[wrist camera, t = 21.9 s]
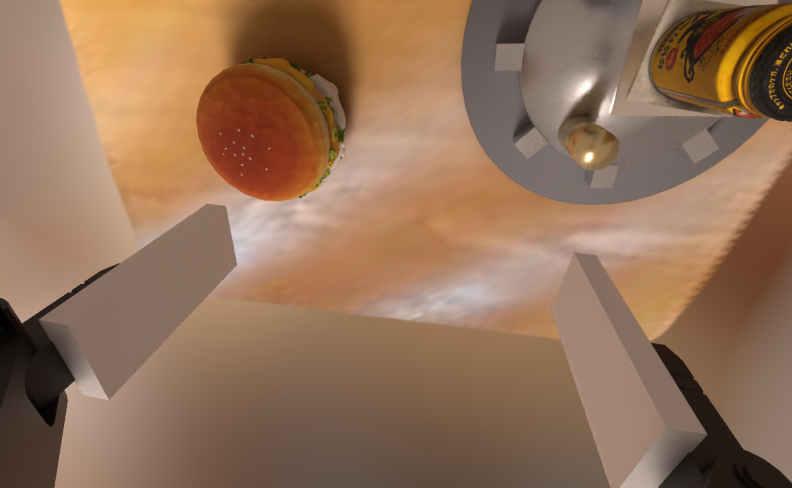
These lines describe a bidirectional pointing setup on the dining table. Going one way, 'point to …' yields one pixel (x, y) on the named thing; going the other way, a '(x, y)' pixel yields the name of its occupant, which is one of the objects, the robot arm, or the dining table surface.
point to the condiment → (720, 60)
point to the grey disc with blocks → (598, 87)
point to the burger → (271, 128)
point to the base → (548, 168)
